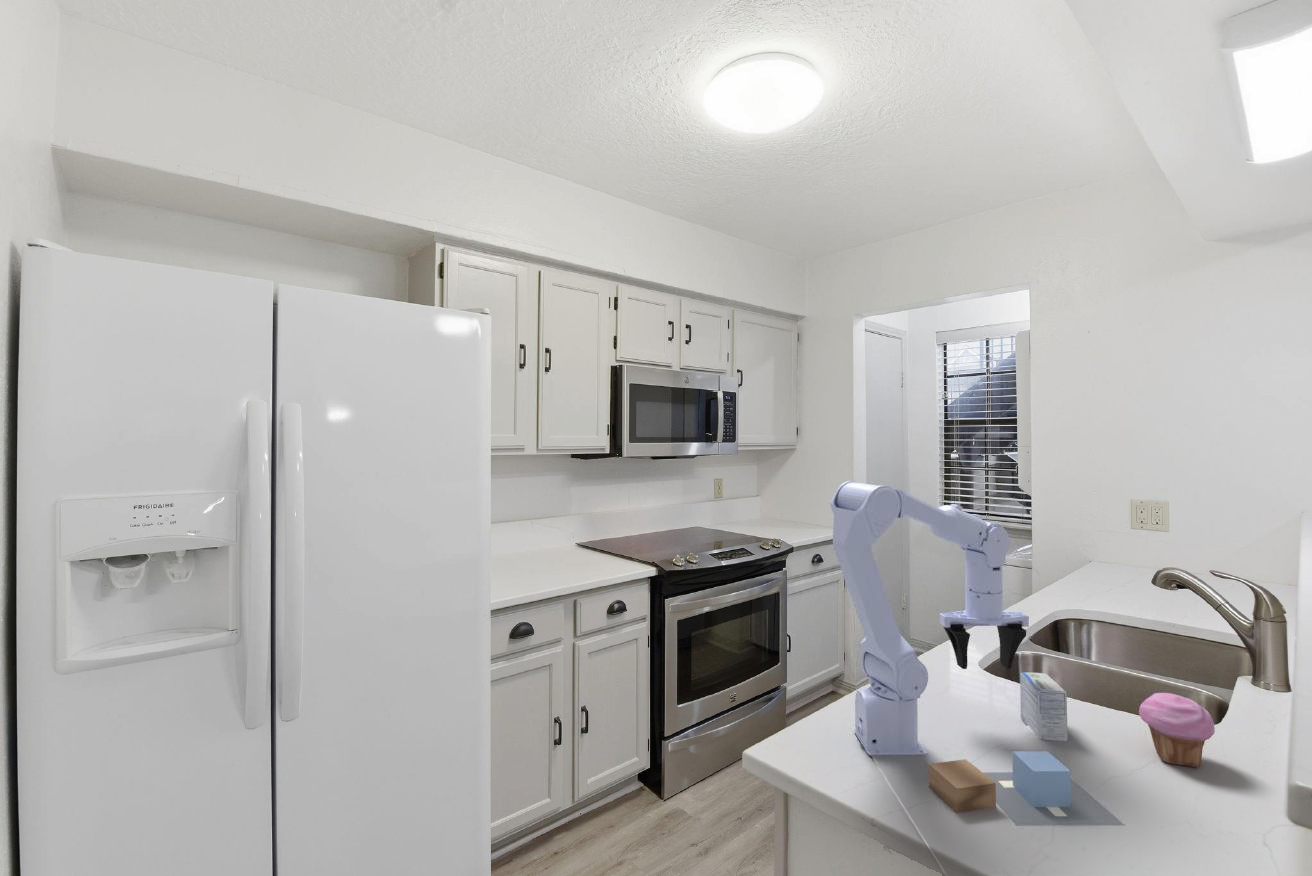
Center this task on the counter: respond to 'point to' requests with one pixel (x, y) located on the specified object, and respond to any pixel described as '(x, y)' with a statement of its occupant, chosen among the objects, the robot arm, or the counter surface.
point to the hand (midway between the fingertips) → (983, 666)
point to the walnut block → (962, 786)
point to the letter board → (1025, 814)
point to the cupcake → (1177, 727)
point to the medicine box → (1043, 706)
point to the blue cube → (1041, 779)
